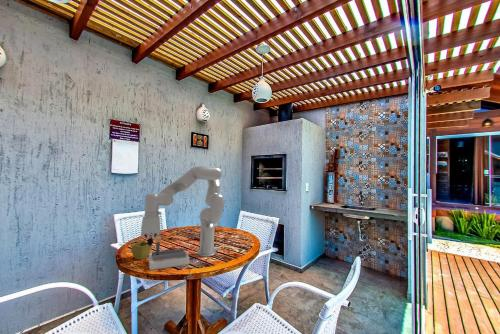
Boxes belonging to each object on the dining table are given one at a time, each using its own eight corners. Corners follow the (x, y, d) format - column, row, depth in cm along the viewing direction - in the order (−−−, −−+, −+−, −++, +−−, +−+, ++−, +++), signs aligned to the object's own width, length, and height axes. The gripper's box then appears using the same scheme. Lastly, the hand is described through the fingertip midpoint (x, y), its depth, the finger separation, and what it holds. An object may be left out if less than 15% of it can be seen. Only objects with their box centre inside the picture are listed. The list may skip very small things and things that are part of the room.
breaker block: (184, 256, 147) (185, 246, 147) (189, 264, 134) (189, 253, 135) (148, 261, 136) (149, 251, 137) (149, 270, 124) (150, 258, 124)
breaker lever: (160, 255, 136) (161, 235, 137) (161, 258, 131) (162, 237, 131) (153, 256, 134) (154, 235, 135) (154, 259, 129) (155, 238, 129)
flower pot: (141, 254, 147) (142, 241, 148) (151, 256, 144) (152, 243, 145) (130, 259, 139) (130, 244, 140) (140, 261, 136) (141, 246, 136)
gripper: (164, 212, 138) (162, 242, 138) (137, 213, 131) (135, 244, 131) (165, 214, 132) (164, 245, 131) (137, 216, 125) (135, 248, 124)
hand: (150, 245), depth 131 cm, fingers closed
